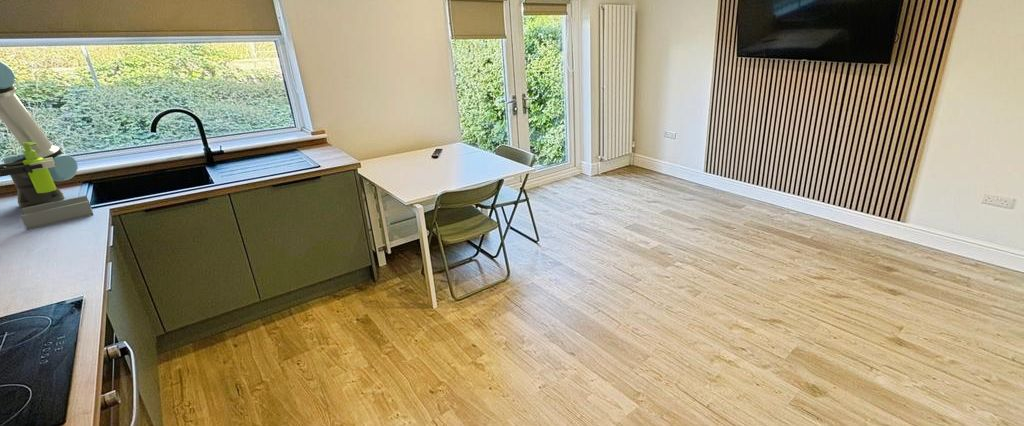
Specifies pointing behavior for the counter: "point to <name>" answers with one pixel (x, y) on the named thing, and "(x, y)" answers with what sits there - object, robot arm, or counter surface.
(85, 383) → the counter surface
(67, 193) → the counter surface
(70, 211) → the gray rectangular tray
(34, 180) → the soap dispenser
